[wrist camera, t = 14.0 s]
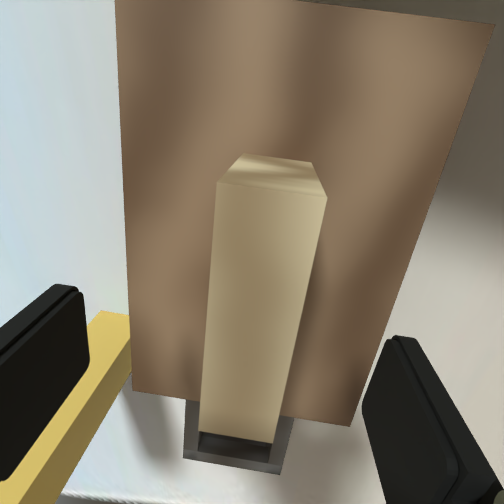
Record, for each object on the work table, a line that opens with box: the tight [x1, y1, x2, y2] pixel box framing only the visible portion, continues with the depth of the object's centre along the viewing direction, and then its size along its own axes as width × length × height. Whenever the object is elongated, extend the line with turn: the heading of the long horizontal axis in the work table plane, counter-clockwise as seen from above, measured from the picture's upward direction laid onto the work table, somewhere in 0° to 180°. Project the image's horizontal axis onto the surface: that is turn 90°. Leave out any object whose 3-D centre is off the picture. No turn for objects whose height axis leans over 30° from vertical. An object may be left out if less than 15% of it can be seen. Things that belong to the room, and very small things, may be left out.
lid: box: [115, 0, 495, 475], centre depth 16 cm, size 14×27×8 cm, turn 173°
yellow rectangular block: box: [0, 311, 132, 504], centre depth 24 cm, size 4×4×16 cm
